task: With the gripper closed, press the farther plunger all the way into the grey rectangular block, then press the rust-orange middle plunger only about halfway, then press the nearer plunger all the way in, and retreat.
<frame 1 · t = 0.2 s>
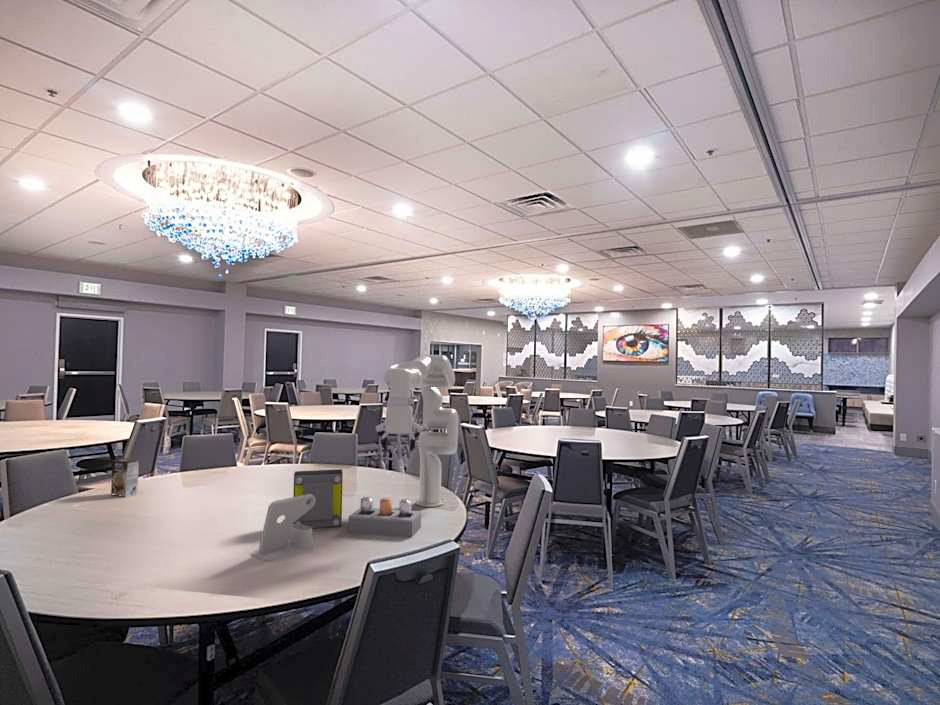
hand: (398, 450, 189), 31 cm above the table, fingers open, 9 cm apart
plunger 2: (405, 507, 193), point 9 cm above the table, slide at 0.0 cm
plunger 1: (366, 505, 196), point 9 cm above the table, slide at 0.0 cm
grey rectangular block: (385, 529, 194), on the table
coffee box: (124, 495, 240), on the table
electrical component: (317, 525, 199), on the table
plunger rust: (385, 506, 194), point 9 cm above the table, slide at 0.0 cm
phone holder: (283, 551, 171), on the table
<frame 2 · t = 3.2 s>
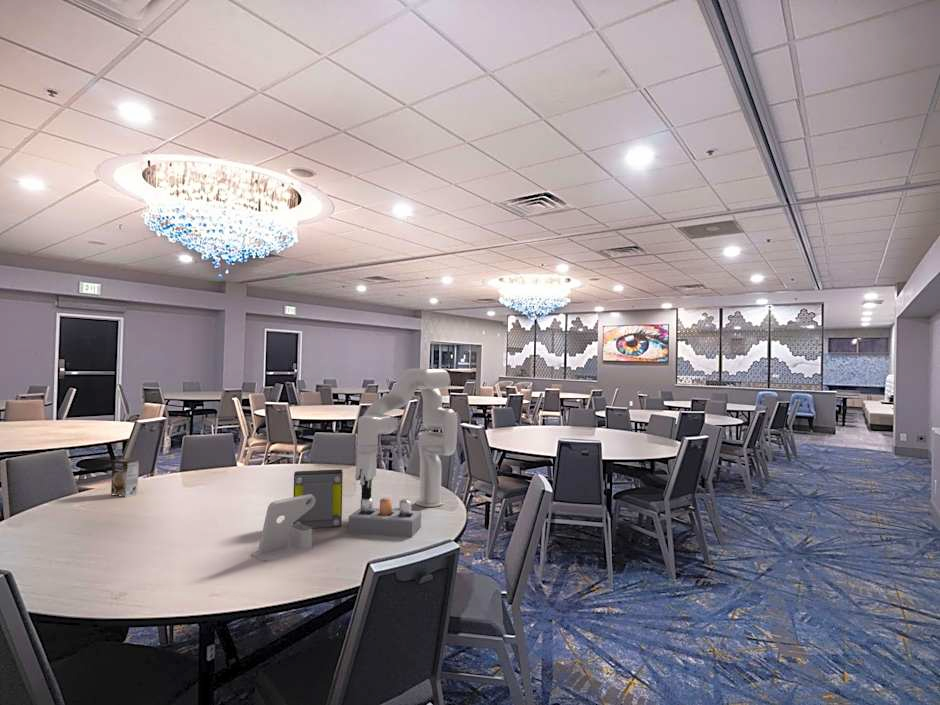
hand: (366, 498, 195), 11 cm above the table, fingers closed
plunger 1: (366, 505, 196), point 9 cm above the table, slide at 0.0 cm, touching gripper
everything else where it was.
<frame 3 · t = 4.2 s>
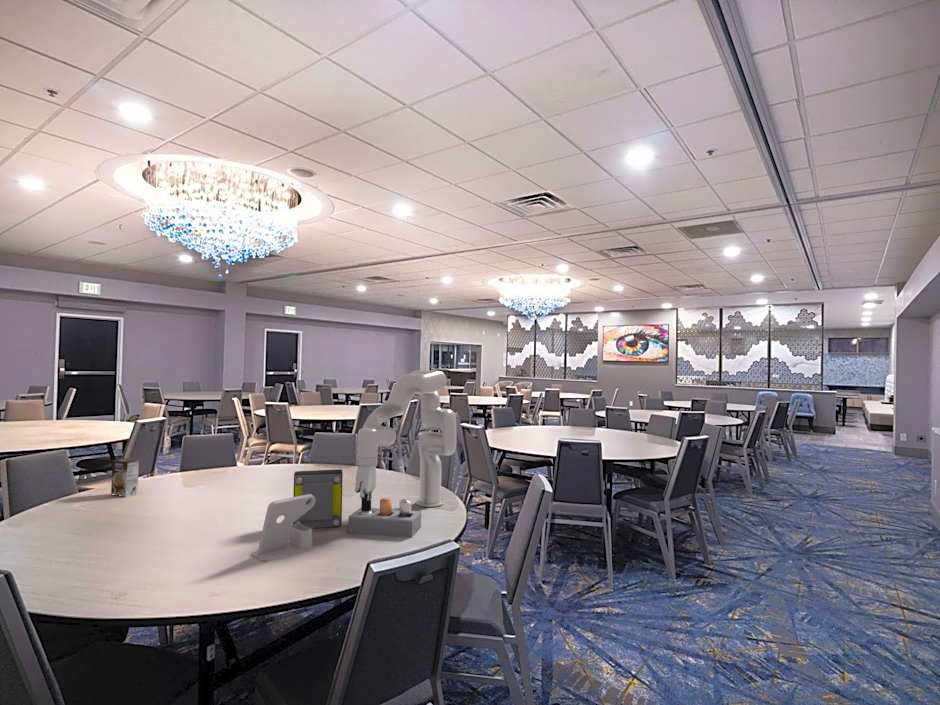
hand: (366, 510, 195), 7 cm above the table, fingers closed
plunger 1: (366, 517, 196), point 4 cm above the table, slide at 4.6 cm, touching gripper
everything else where it was.
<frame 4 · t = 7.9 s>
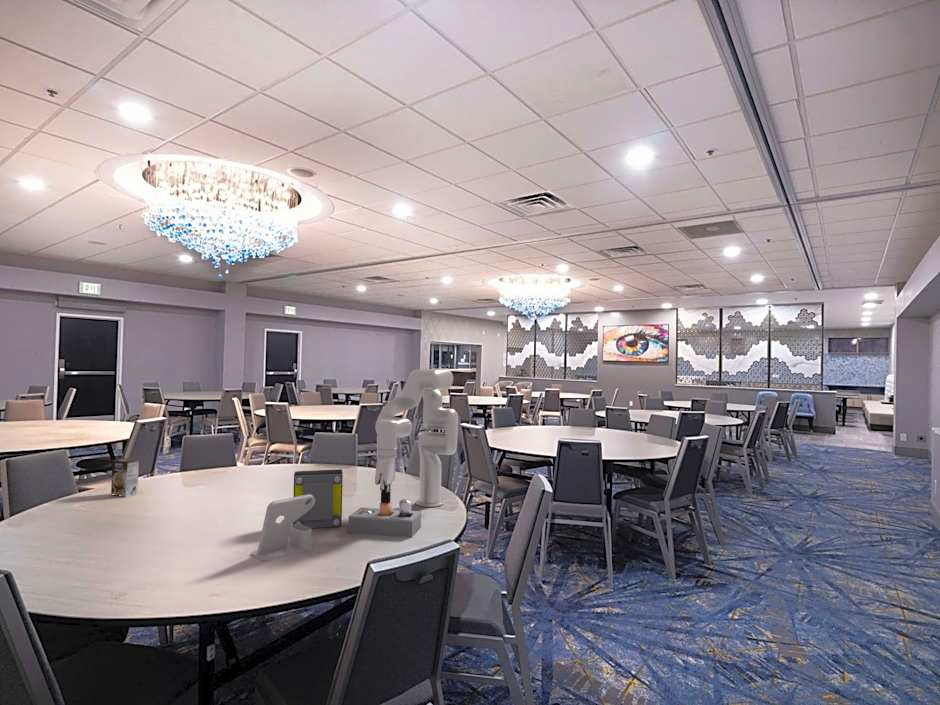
hand: (385, 502, 194), 10 cm above the table, fingers closed
plunger 1: (366, 517, 196), point 4 cm above the table, slide at 4.7 cm
plunger rust: (385, 509, 194), point 7 cm above the table, slide at 1.2 cm, touching gripper
everything else where it was.
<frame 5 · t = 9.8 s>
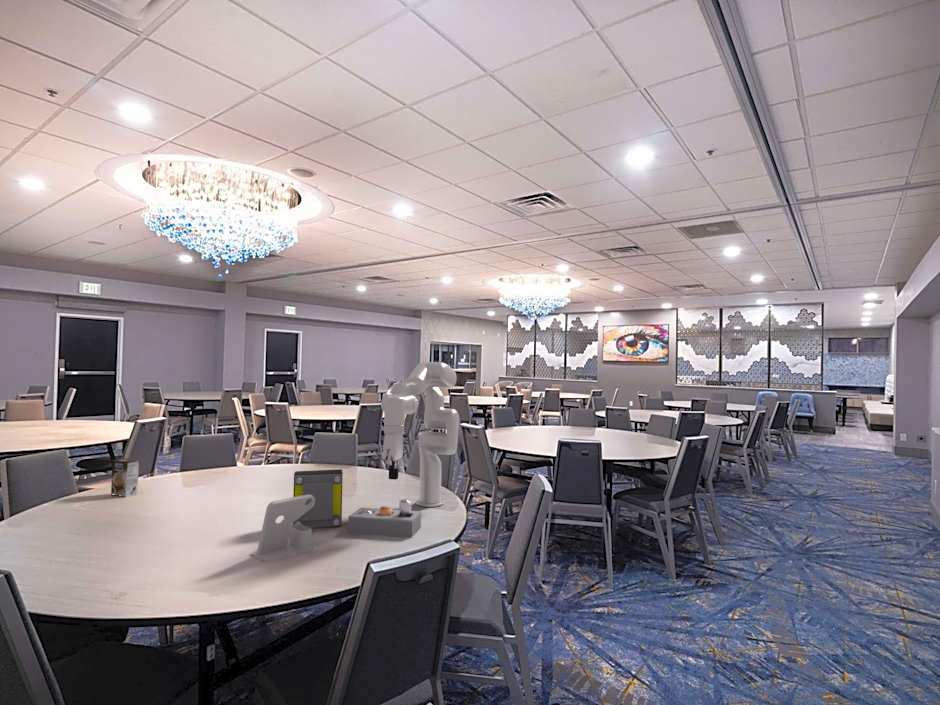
hand: (393, 478, 194), 19 cm above the table, fingers closed
plunger rust: (385, 514, 194), point 6 cm above the table, slide at 2.9 cm
everything else where it was.
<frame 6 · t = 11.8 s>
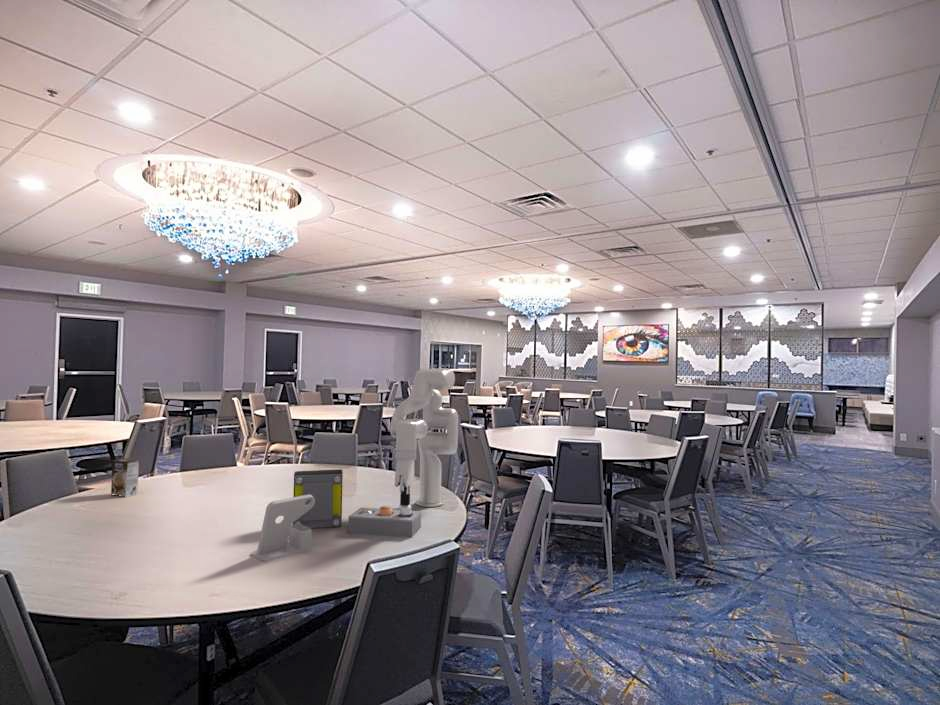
hand: (405, 504, 193), 10 cm above the table, fingers closed
plunger 2: (405, 511, 193), point 7 cm above the table, slide at 1.5 cm, touching gripper
everything else where it was.
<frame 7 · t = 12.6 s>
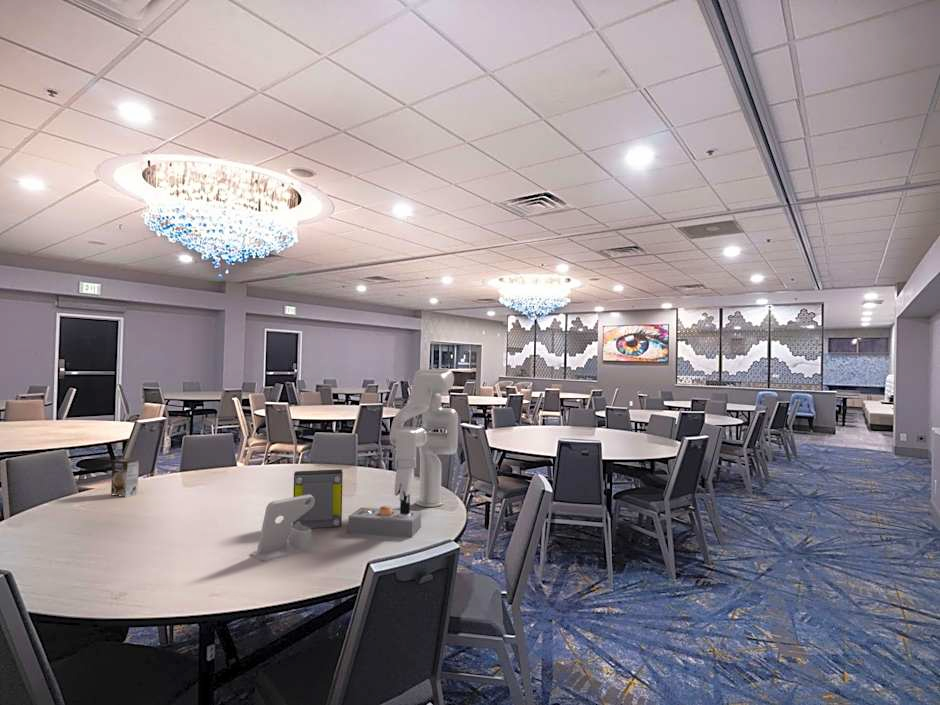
hand: (404, 513, 193), 7 cm above the table, fingers closed
plunger 2: (405, 520, 193), point 4 cm above the table, slide at 4.6 cm, touching gripper
everything else where it was.
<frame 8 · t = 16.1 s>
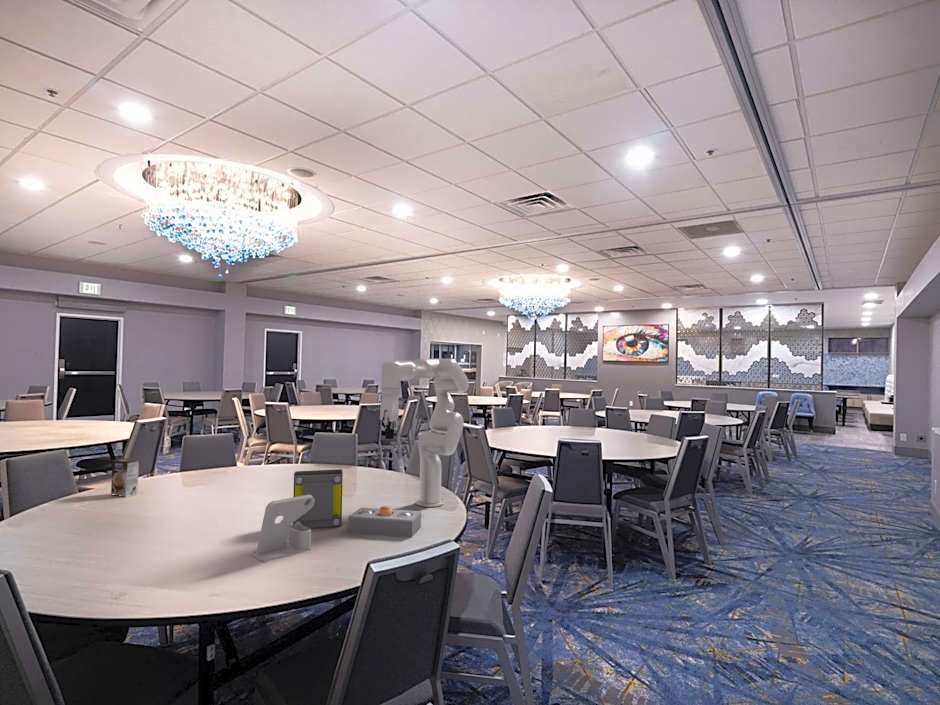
hand: (389, 438, 207), 32 cm above the table, fingers closed
plunger 2: (405, 520, 193), point 4 cm above the table, slide at 4.7 cm
everything else where it was.
at the end: plunger 1 slide at 4.7 cm; plunger 2 slide at 4.7 cm; plunger rust slide at 2.9 cm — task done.
